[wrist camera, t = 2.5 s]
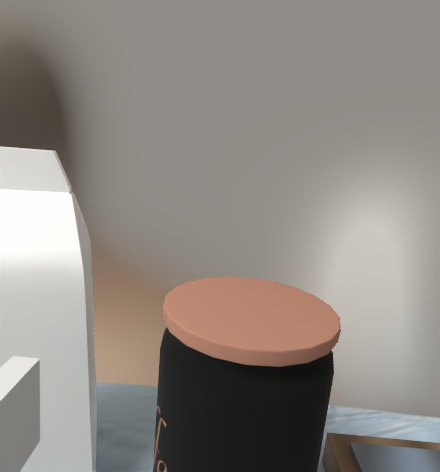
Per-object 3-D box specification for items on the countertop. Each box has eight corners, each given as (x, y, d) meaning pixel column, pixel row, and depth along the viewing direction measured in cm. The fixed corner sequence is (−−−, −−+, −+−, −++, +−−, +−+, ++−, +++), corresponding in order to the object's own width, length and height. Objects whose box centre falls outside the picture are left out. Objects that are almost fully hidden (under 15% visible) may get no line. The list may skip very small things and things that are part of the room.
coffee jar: (170, 466, 32) (183, 269, 28) (294, 488, 31) (326, 286, 27) (125, 613, 22) (137, 333, 18) (308, 652, 21) (363, 365, 17)
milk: (-107, 563, 23) (-164, 137, 18) (-41, 431, 34) (-64, 139, 28) (94, 522, 27) (100, 157, 21) (97, 414, 38) (101, 152, 32)
